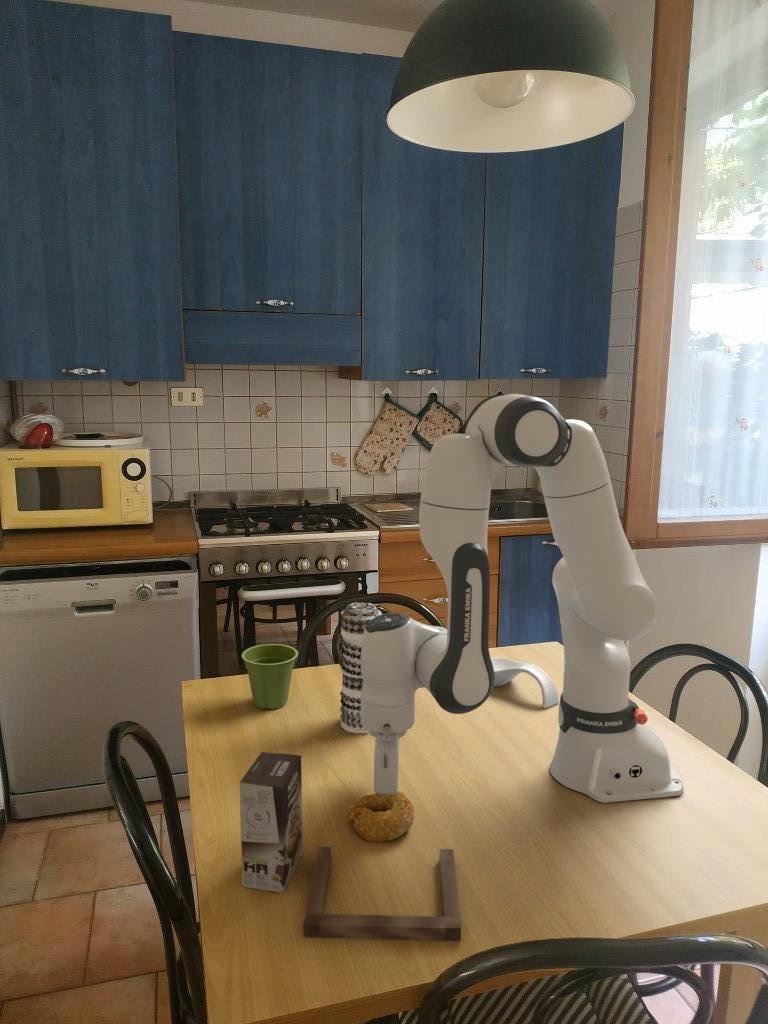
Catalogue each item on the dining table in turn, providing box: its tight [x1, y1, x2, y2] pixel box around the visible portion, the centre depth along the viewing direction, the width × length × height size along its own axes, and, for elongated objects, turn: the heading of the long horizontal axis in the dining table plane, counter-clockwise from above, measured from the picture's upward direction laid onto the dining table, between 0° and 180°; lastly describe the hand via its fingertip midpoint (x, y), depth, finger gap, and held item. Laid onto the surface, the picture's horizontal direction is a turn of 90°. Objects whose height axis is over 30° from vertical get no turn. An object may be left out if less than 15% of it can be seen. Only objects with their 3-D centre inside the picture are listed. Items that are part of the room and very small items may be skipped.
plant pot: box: [241, 643, 299, 710], centre depth 163 cm, size 12×12×11 cm
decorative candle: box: [337, 601, 383, 734], centre depth 153 cm, size 9×9×25 cm
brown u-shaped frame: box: [302, 846, 462, 941], centre depth 105 cm, size 20×16×2 cm
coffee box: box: [239, 751, 304, 894], centre depth 109 cm, size 9×6×16 cm
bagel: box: [346, 790, 415, 843], centre depth 121 cm, size 10×11×5 cm
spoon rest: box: [490, 656, 560, 709], centre depth 172 cm, size 24×12×7 cm, turn 39°
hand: (387, 789), depth 127 cm, fingers closed
